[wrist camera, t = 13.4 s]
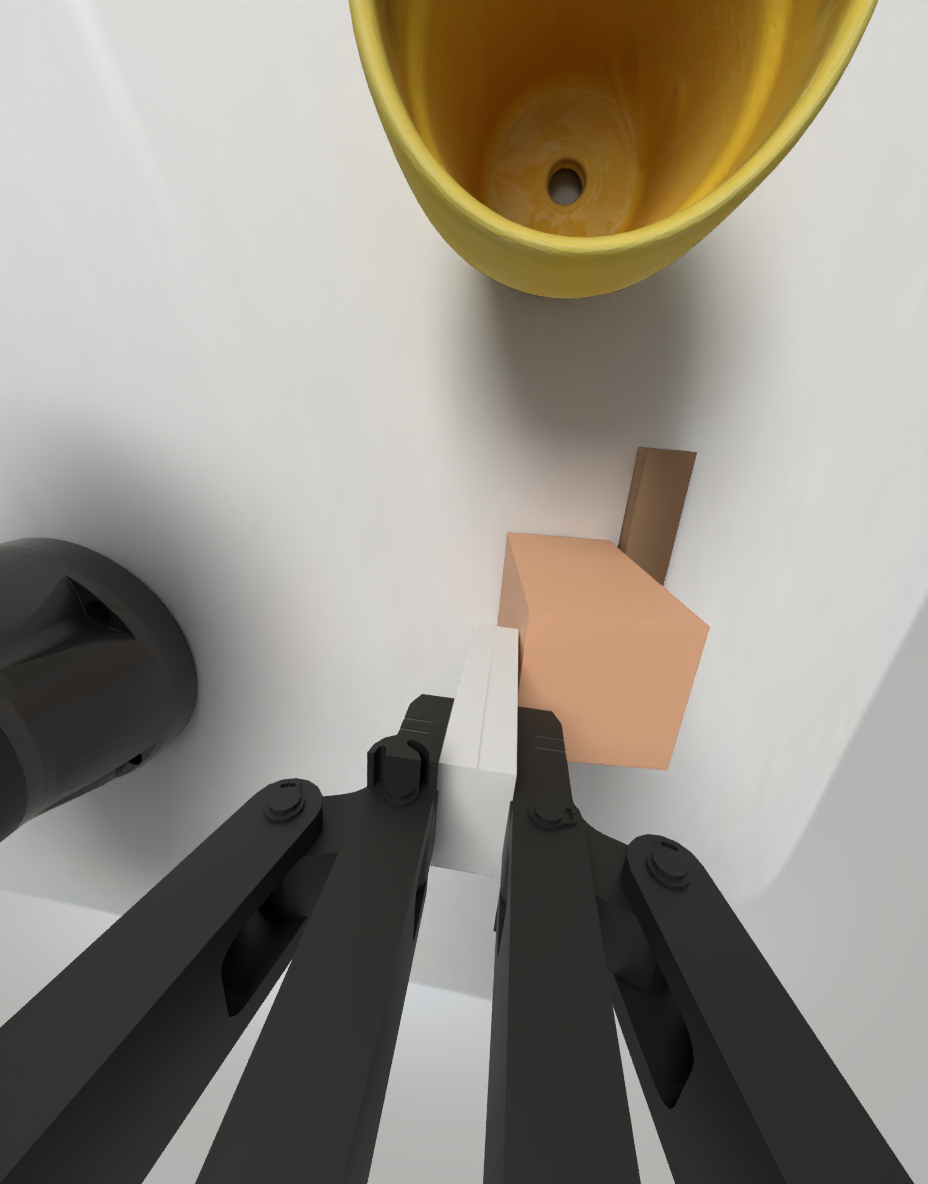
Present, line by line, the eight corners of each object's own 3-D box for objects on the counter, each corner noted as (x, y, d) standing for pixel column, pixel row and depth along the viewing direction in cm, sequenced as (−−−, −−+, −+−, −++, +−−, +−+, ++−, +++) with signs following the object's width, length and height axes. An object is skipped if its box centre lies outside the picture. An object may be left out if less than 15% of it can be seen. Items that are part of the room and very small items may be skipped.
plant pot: (725, -10, 15) (1062, -725, 6) (680, 338, 18) (844, 244, 9) (423, 29, 16) (298, -512, 7) (435, 350, 19) (365, 276, 10)
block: (497, 624, 23) (509, 756, 14) (507, 532, 22) (529, 612, 12) (591, 632, 23) (667, 769, 14) (609, 540, 21) (710, 627, 12)
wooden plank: (584, 706, 25) (588, 723, 23) (638, 447, 20) (648, 448, 18) (620, 711, 25) (627, 728, 23) (683, 451, 20) (696, 452, 18)
